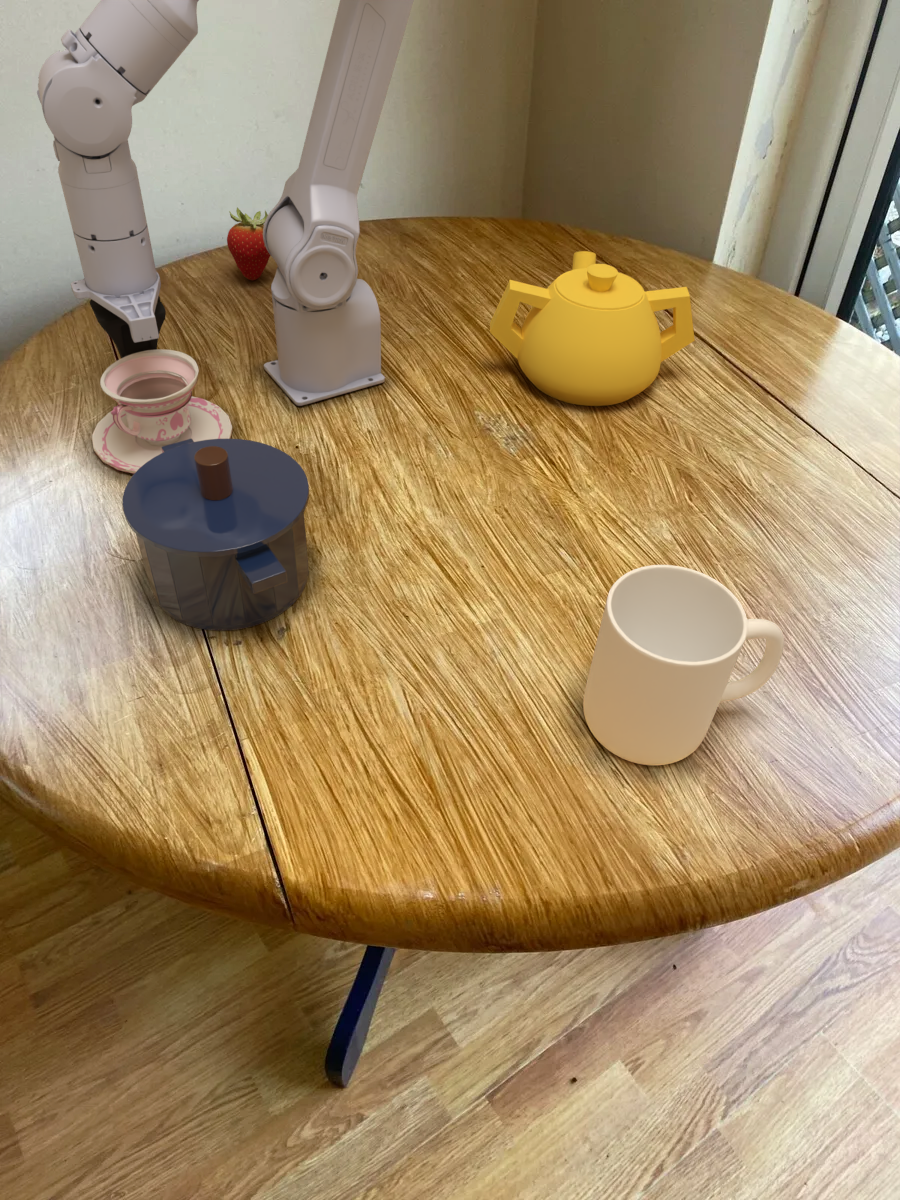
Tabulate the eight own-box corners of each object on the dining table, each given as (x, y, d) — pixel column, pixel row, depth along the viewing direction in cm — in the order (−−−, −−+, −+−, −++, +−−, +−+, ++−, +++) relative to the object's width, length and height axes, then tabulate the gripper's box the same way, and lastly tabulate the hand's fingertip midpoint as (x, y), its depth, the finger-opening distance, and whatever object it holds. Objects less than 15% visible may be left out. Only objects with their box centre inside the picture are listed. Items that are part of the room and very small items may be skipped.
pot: (257, 490, 76) (247, 414, 70) (352, 618, 66) (348, 540, 60) (119, 534, 71) (97, 456, 66) (199, 679, 61) (180, 600, 56)
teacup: (152, 386, 86) (139, 326, 82) (259, 422, 83) (252, 361, 78) (62, 452, 78) (43, 389, 74) (177, 494, 75) (163, 431, 70)
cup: (569, 673, 63) (593, 566, 56) (734, 664, 64) (778, 559, 57) (596, 774, 57) (626, 668, 50) (777, 761, 58) (831, 657, 51)
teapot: (660, 322, 100) (683, 222, 92) (697, 416, 87) (728, 308, 79) (479, 317, 99) (487, 215, 91) (490, 411, 86) (500, 301, 78)
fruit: (284, 272, 104) (278, 202, 98) (267, 293, 100) (260, 221, 95) (242, 266, 105) (234, 195, 99) (224, 286, 101) (214, 214, 95)
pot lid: (265, 433, 70) (260, 386, 67) (340, 526, 62) (338, 478, 59) (101, 481, 65) (88, 433, 62) (162, 588, 57) (150, 539, 54)
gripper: (42, 199, 75) (81, 346, 85) (75, 272, 66) (115, 428, 76) (128, 188, 78) (156, 333, 87) (171, 257, 69) (198, 410, 78)
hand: (142, 376), depth 82 cm, fingers closed
